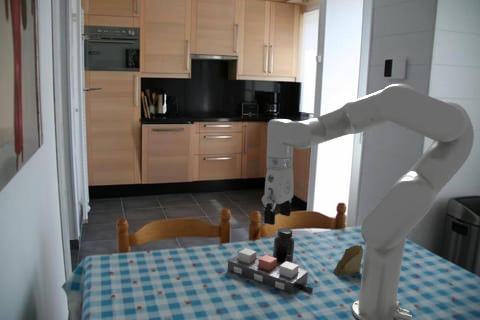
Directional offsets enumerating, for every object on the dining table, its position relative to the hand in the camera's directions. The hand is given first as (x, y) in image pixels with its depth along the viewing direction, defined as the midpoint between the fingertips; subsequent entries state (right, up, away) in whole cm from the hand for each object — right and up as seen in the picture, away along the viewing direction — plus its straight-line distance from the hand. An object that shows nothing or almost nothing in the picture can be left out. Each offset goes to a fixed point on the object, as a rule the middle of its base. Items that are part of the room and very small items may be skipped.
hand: (277, 219), depth 127 cm
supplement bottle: (+3, -18, +18) cm, 26 cm away
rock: (+24, -20, +15) cm, 34 cm away
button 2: (-3, -19, +8) cm, 21 cm away
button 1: (+3, -20, +4) cm, 21 cm away
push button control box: (-1, -20, +7) cm, 21 cm away
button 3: (-9, -18, +12) cm, 23 cm away
